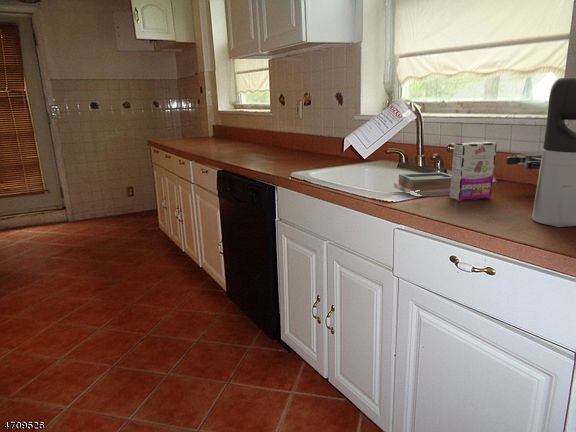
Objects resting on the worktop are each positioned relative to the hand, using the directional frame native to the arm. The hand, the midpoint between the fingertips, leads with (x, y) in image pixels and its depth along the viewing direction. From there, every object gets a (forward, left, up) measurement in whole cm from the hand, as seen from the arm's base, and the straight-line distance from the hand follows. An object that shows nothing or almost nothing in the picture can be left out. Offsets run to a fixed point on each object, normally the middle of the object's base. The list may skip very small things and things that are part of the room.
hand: (517, 163), depth 127 cm
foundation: (+12, +22, -10) cm, 27 cm away
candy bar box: (0, +15, -10) cm, 18 cm away
